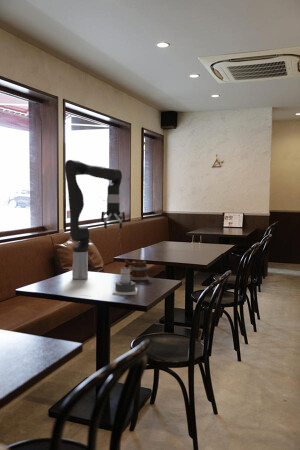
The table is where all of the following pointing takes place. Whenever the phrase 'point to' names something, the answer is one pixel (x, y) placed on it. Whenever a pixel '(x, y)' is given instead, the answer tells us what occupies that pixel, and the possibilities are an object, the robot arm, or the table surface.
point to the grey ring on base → (125, 288)
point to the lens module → (125, 275)
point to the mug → (137, 270)
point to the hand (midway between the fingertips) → (113, 229)
